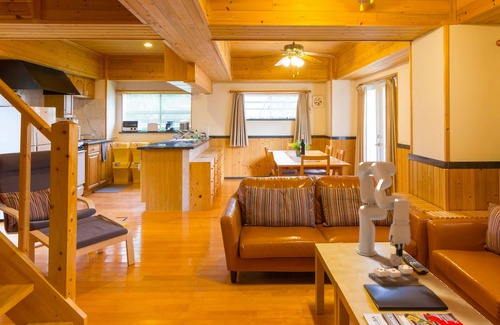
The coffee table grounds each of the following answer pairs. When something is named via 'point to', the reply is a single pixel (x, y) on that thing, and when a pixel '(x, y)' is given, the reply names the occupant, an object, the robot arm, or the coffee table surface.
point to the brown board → (393, 279)
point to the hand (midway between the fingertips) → (399, 255)
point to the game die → (396, 260)
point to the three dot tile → (381, 271)
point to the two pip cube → (405, 269)
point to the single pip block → (393, 273)
